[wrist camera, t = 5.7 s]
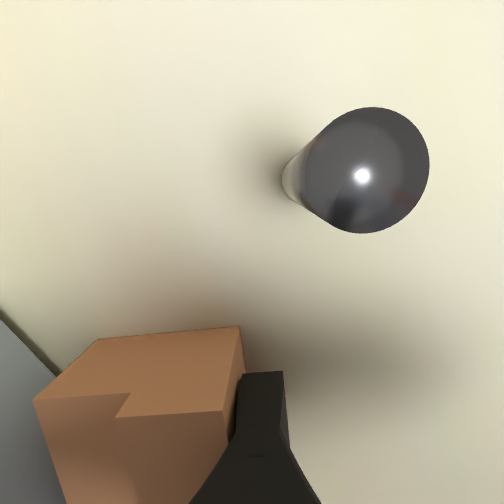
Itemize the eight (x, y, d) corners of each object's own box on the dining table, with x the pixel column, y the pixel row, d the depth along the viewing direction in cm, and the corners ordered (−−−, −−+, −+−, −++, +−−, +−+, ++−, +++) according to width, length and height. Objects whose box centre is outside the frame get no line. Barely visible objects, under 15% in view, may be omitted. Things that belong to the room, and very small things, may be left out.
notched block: (239, 326, 10) (222, 410, 6) (253, 425, 11) (246, 550, 7) (98, 338, 10) (4, 425, 7) (123, 433, 11) (52, 556, 8)
